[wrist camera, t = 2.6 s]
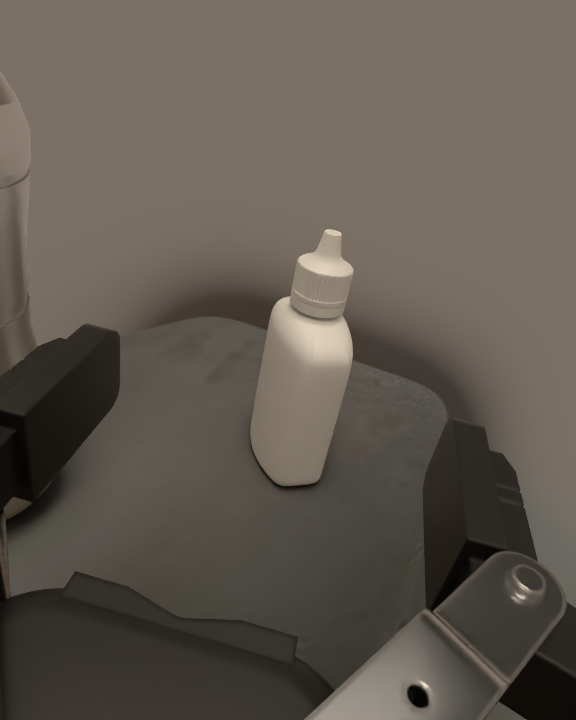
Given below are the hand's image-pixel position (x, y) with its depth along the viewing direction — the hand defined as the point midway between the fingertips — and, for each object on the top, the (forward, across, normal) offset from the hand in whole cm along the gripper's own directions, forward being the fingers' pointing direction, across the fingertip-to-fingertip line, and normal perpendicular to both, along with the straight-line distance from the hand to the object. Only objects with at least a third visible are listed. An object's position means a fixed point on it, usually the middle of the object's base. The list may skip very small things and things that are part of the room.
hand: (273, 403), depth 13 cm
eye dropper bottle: (+11, 0, +11) cm, 16 cm away
